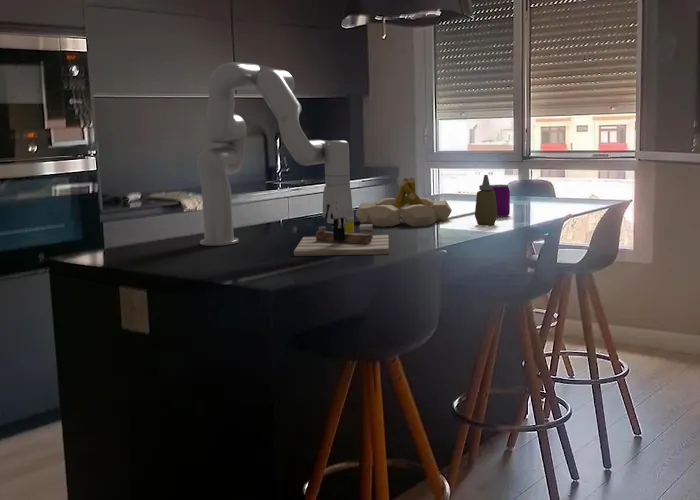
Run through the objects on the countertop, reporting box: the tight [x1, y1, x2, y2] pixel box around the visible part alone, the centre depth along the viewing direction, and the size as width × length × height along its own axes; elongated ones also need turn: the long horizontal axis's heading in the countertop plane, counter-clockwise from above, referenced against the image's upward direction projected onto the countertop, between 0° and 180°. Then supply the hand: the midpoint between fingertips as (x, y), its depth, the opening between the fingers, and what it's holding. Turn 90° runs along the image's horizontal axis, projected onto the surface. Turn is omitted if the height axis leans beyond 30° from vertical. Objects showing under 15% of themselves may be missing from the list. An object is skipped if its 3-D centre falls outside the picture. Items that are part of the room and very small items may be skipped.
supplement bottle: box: [344, 206, 355, 233], centre depth 280 cm, size 7×7×13 cm
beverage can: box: [492, 184, 511, 218], centre depth 320 cm, size 8×8×12 cm
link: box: [315, 230, 372, 244], centre depth 259 cm, size 20×4×2 cm, turn 56°
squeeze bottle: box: [474, 174, 498, 227], centre depth 296 cm, size 8×8×18 cm
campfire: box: [354, 176, 453, 228], centre depth 314 cm, size 35×34×17 cm
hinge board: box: [293, 223, 390, 257], centre depth 258 cm, size 28×28×6 cm
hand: (339, 240), depth 256 cm, fingers closed
